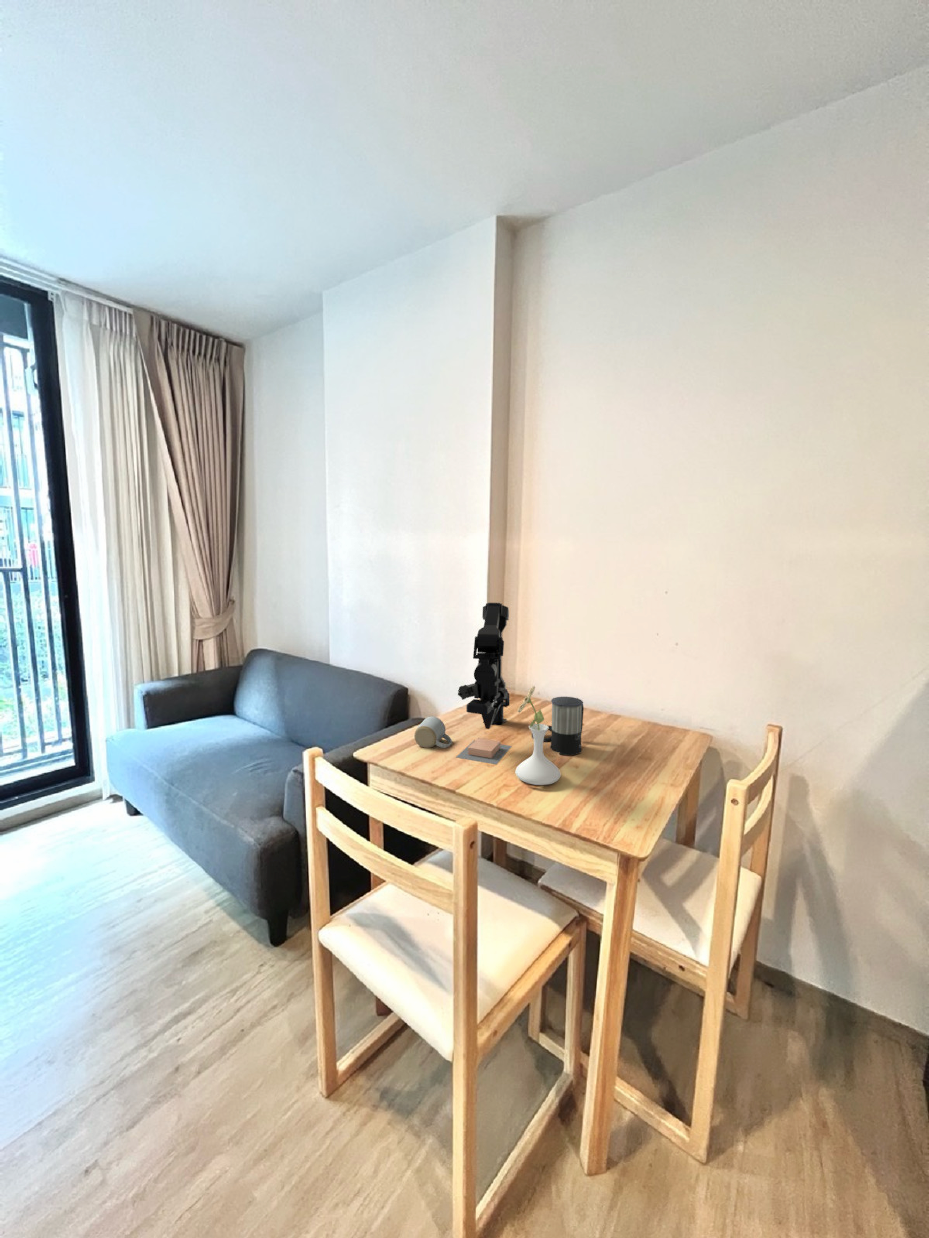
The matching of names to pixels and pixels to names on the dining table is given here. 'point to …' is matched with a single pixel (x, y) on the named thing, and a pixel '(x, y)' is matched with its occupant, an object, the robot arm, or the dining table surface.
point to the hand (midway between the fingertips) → (487, 728)
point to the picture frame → (484, 747)
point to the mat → (493, 760)
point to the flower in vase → (537, 753)
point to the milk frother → (566, 725)
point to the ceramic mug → (431, 733)
